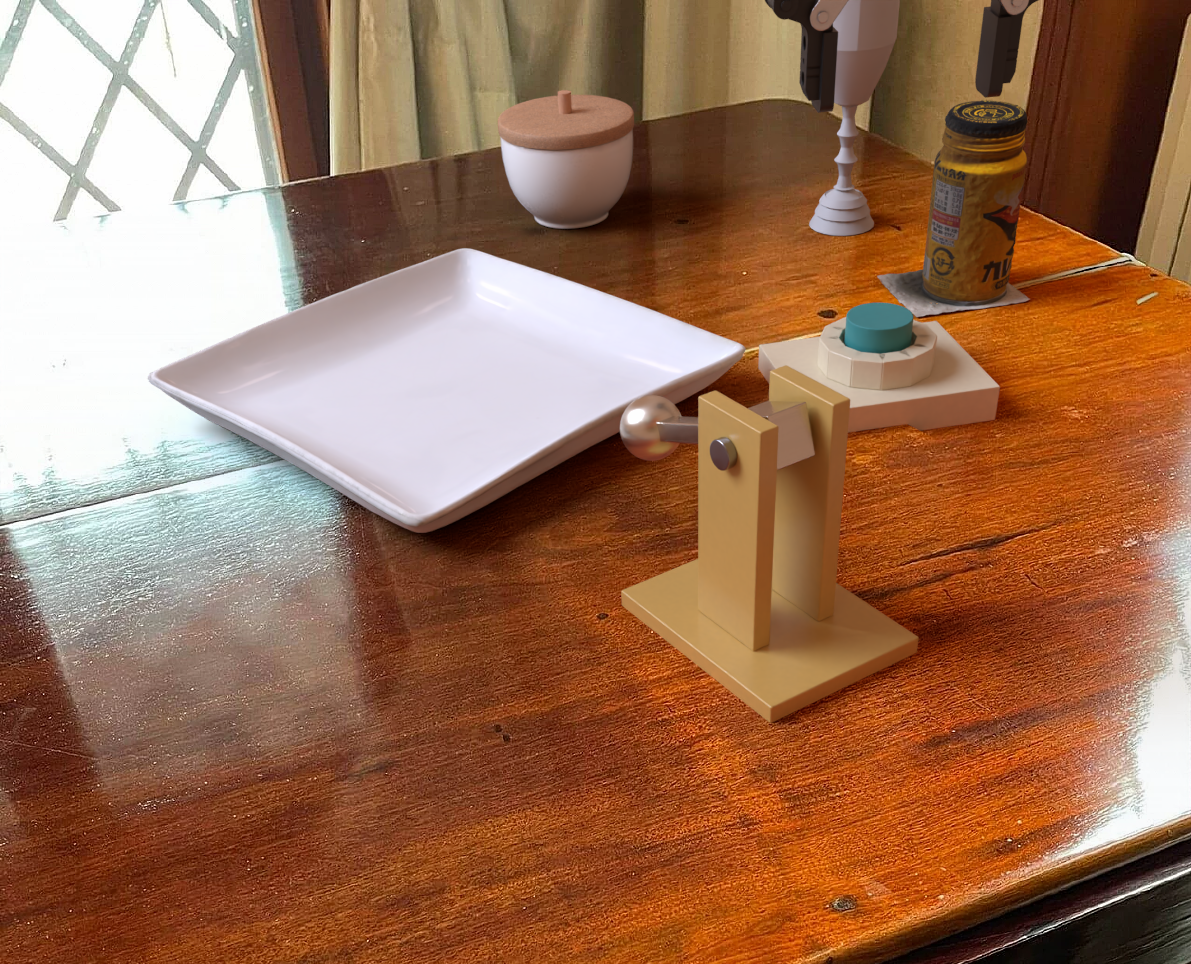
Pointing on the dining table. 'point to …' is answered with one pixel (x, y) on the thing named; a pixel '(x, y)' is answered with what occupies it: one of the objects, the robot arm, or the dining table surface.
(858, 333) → the button
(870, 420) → the cream button base
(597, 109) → the lidded sugar bowl
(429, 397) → the square plate
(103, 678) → the dining table surface
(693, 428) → the tap lever
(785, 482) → the lever stand
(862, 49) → the chalice
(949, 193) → the condiment
